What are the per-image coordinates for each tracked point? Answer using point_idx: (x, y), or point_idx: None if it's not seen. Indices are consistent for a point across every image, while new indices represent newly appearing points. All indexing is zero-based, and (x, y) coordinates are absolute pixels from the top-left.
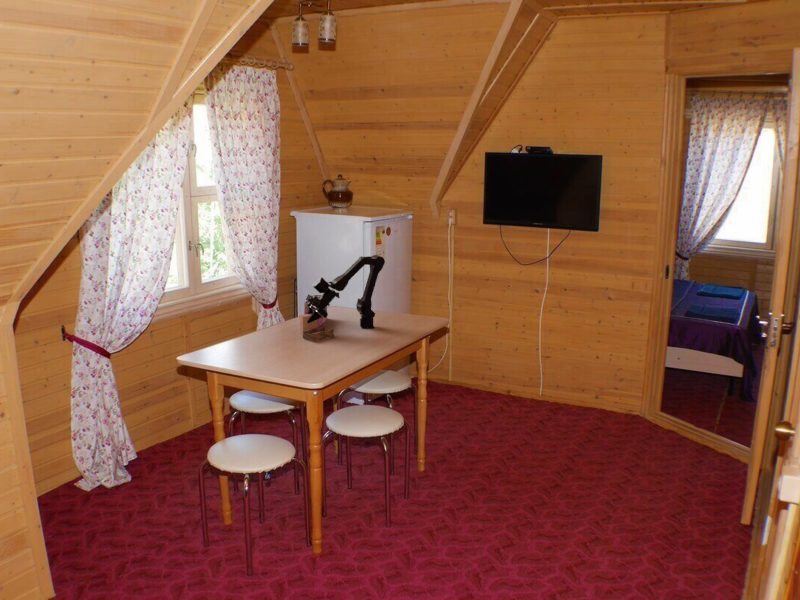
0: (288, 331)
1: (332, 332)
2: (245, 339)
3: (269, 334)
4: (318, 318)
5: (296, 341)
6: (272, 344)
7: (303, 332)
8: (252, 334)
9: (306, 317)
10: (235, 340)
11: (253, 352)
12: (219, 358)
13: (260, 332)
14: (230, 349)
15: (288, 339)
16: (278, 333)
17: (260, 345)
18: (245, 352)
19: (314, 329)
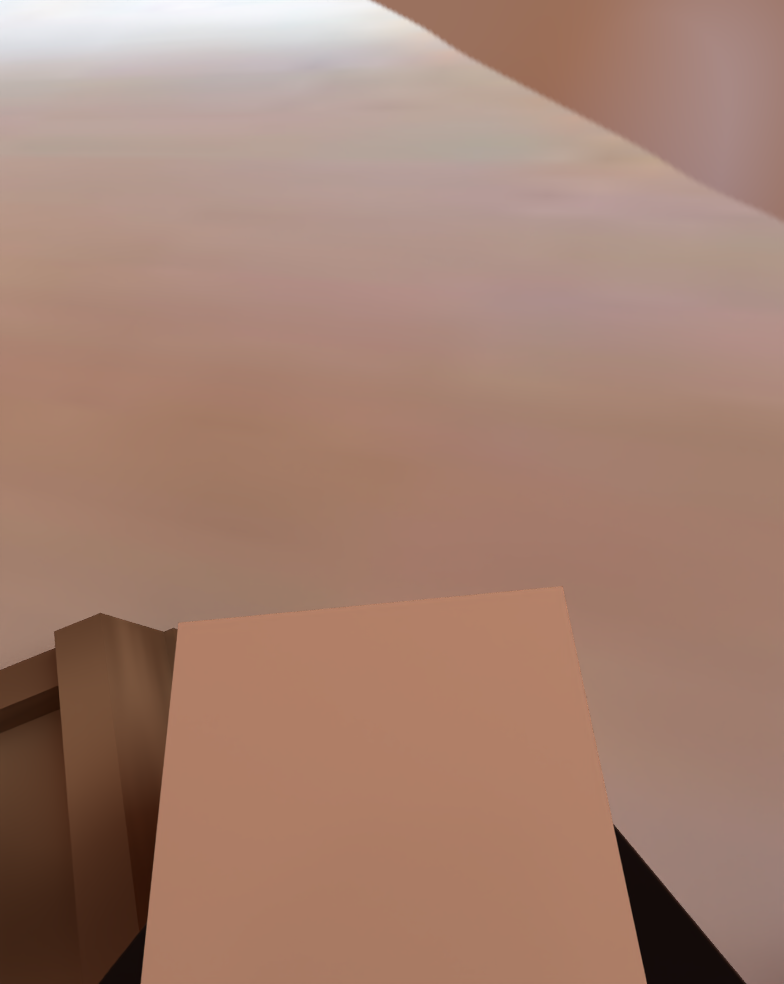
0: (699, 511)
1: None
2: (425, 94)
3: (568, 271)
4: None
5: (93, 511)
6: (132, 267)
7: (107, 624)
8: (612, 136)
9: (188, 818)
10: (421, 42)
11: (2, 141)
12: (21, 6)
13: (695, 198)
14: (176, 33)
15: (237, 436)
16: (596, 366)
17: (161, 184)
18: (41, 102)
19: (85, 935)
